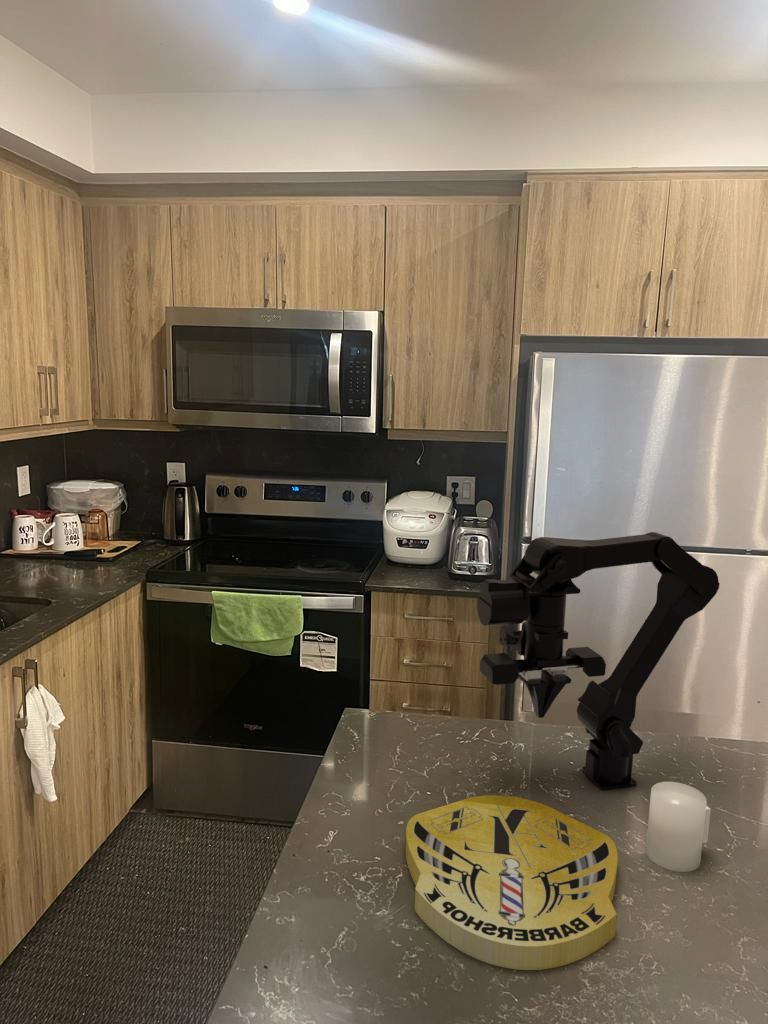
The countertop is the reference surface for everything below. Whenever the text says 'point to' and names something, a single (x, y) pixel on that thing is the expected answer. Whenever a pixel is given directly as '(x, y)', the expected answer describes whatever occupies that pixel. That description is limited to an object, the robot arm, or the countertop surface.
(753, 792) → the countertop surface
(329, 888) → the countertop surface
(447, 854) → the sign
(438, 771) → the countertop surface
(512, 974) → the countertop surface
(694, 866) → the night light
